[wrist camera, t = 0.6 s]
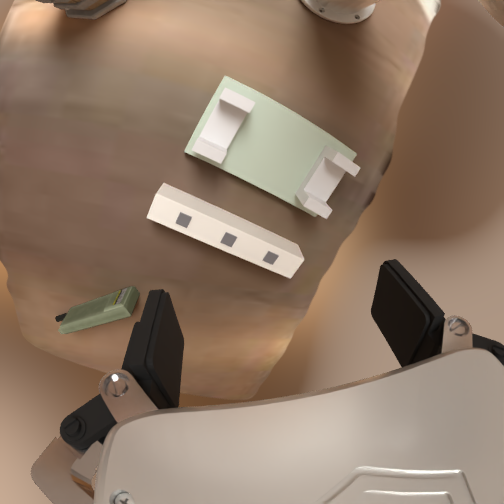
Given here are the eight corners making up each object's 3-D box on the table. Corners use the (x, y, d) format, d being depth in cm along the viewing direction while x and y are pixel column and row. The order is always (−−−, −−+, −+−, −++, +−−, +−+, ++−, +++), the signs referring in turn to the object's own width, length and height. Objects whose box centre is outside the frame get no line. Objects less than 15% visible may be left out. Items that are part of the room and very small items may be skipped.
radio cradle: (225, 76, 32) (224, 71, 26) (353, 151, 39) (372, 161, 33) (185, 149, 37) (178, 159, 31) (312, 213, 44) (325, 231, 38)
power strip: (164, 182, 39) (155, 193, 35) (297, 243, 47) (304, 260, 42) (154, 204, 41) (146, 218, 37) (285, 261, 48) (290, 279, 44)
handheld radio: (142, 295, 50) (63, 320, 52) (133, 282, 48) (55, 310, 51) (133, 319, 44) (52, 340, 47) (123, 305, 42) (43, 329, 45)
